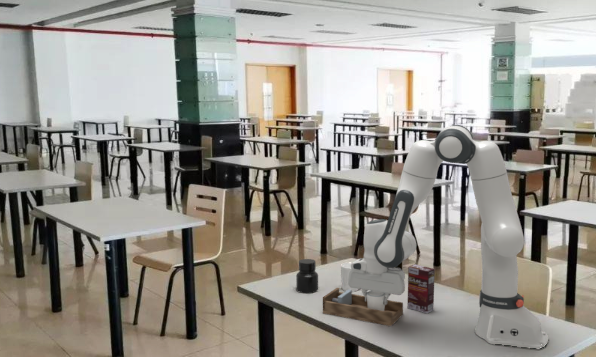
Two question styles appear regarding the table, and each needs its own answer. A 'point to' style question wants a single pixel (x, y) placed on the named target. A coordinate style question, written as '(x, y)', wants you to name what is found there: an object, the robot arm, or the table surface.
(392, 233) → the robot arm
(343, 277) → the white cup
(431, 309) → the supplement box
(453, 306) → the table surface
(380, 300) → the white short cylinder
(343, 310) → the wooden tray
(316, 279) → the ink bottle
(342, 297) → the pusher
